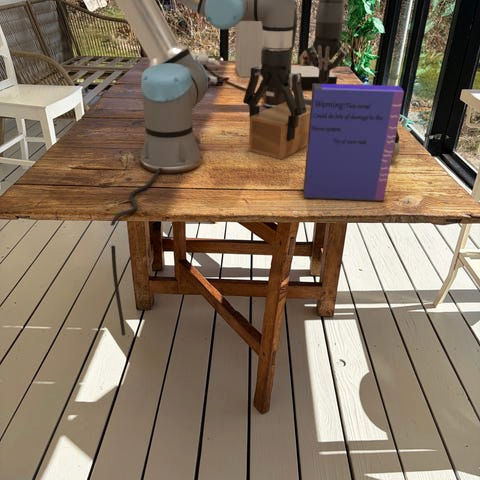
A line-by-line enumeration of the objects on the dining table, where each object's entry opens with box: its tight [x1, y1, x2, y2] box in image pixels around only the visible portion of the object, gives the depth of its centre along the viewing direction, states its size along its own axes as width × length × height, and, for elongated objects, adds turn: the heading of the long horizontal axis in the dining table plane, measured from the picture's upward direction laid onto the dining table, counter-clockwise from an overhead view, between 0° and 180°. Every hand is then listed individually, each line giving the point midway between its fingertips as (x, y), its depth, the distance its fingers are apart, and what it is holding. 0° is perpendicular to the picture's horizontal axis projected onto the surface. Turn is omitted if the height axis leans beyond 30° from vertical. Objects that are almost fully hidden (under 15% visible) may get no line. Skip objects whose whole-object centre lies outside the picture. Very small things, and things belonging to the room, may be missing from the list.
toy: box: [190, 51, 221, 68], centre depth 223 cm, size 24×25×7 cm
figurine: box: [207, 74, 230, 86], centre depth 193 cm, size 24×8×30 cm
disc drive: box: [290, 65, 338, 91], centre depth 199 cm, size 18×22×5 cm
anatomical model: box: [297, 49, 318, 66], centre depth 220 cm, size 13×9×15 cm
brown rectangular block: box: [248, 102, 311, 160], centre depth 133 cm, size 19×11×10 cm, turn 144°
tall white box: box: [234, 21, 264, 78], centre depth 210 cm, size 19×15×28 cm
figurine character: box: [392, 131, 400, 157], centre depth 128 cm, size 7×8×15 cm
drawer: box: [304, 97, 311, 106], centre depth 142 cm, size 23×10×8 cm, turn 144°
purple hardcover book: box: [302, 83, 405, 202], centre depth 102 cm, size 17×5×24 cm, turn 86°
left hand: (272, 135), depth 129 cm, fingers closed on brown rectangular block, 11 cm apart
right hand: (323, 82), depth 143 cm, fingers closed
